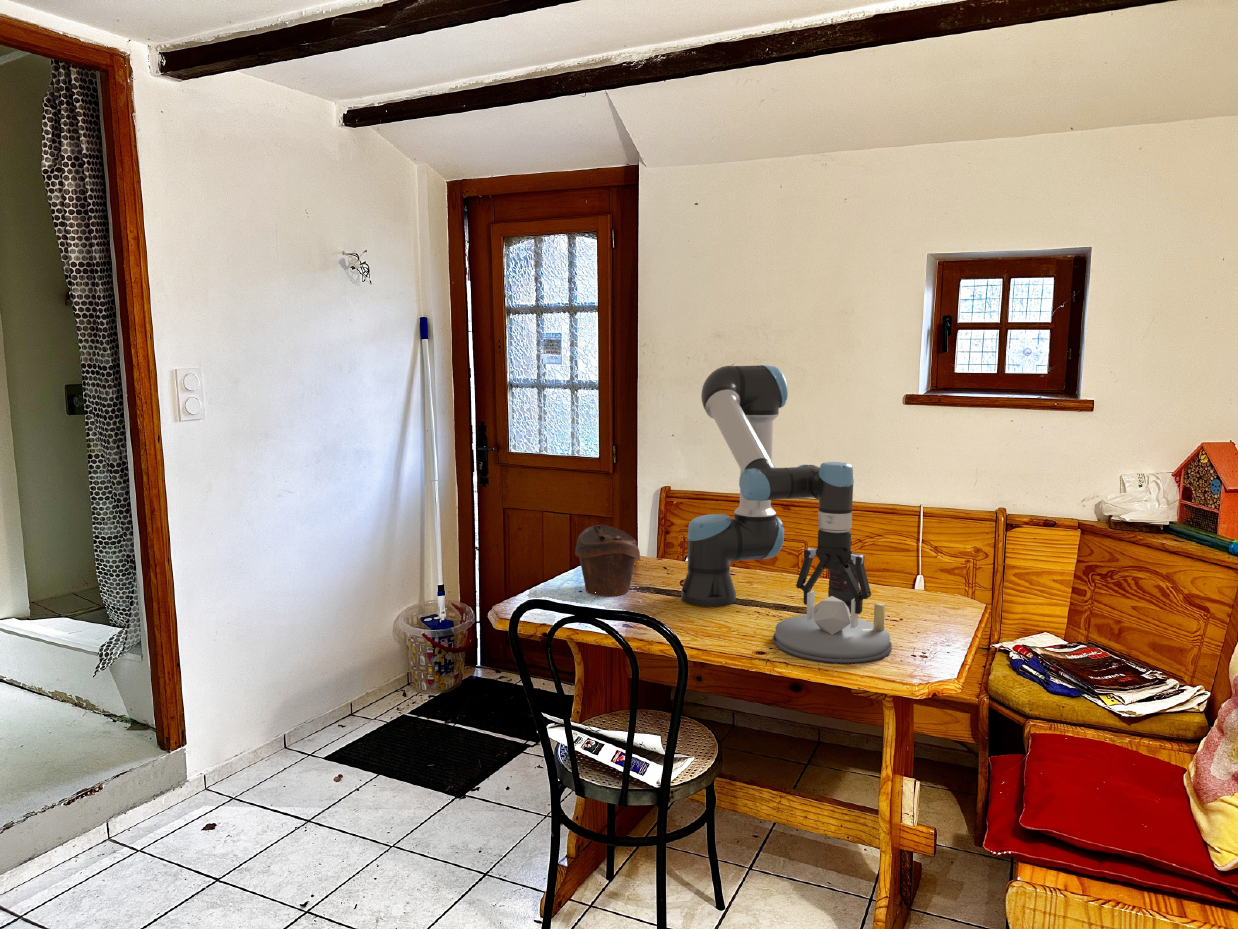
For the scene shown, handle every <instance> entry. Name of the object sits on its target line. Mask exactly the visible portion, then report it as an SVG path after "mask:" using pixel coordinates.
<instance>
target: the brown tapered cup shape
mask: <svg viewBox="0 0 1238 929" xmlns="http://www.w3.org/2000/svg"><path fill="white" fill-rule="evenodd" d="M577 536H578V537H577V540H576V541H577V542H576V546H575V549H574V551H575V552H574V555H575V557H577V558H579V562H580V563H579V564H580V567H581V572H582V573H581V574H582V576H583V582H584V587H585V591H586V593H587V594H588V595H592V596H597V597H618V596H623V595H625V594H627V593H628V592H629V590H630V588H631V582H632V578H633V572H634V568H635V567H636V565H635V562H636V560H637V561H639V562H641V554H640V549H639V546H638V542H637V540H636V539H635V538H634V537H633V536H631V535H630V534H628V533H627V532H625V531H623V530H621V529H619V528H616V527H613V526H610V525H605V524H595V525H591V526H589V527H586V528H585V529H583V530H582V531H581V533H579V534H578V535H577ZM595 592H596V593H595Z"/></svg>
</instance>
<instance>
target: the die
mask: <svg viewBox="0 0 1238 929" xmlns="http://www.w3.org/2000/svg"><path fill="white" fill-rule="evenodd" d="M850 617H851V612H850V611H849V608H848V607H847V605H846V604H845V602H844V601H841V600H839V599H837V598H835V597H833V596H831V597H826V598H824V599H822V600H821V601H820V602H819V603H817V604H816V605H814V621H815V622H816V624H817V625H818V626H819V628H820V629H822V630H824V631H826V632H828V633H829V634H831V635H833V634H835V633H837V632H839V631H840V630H842V629H844V628H845V627H846V626H848V625H849V624H850V623H851V621H850Z"/></svg>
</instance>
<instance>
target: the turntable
mask: <svg viewBox="0 0 1238 929" xmlns="http://www.w3.org/2000/svg"><path fill="white" fill-rule="evenodd" d="M885 610H886V605H885V603H880V602H879V603H878V602H876V603H875V602H874V605H873V622H872V621H867V620H865V619H861V618H858V626H856V627H855V628H851V623H850V624H849V625H848V626H846V627H845V628H844V629H842V630H840V631H839V632H837V633H835V634H833V635H831V634H829V633H828V632H826V631H824V630H822V629H820V628H819V626H818V625H817V624H816V622H815V621H814V618H812V619H811V620H807V614H805V615H795V616H791V617H788V618H784V619H783V620H781V621H779V622H778V623H777V624H776V625H775V631H774V633H775V637H776V640H777V641H778V642H779V643H780V644H781V645H783V646H784V647H786V648H788V649H791V650H793V651H796V652H799V653H803V654H807V655H811V656H817V657H824V658H835V659H855V658H865V657H871V656H875V655H878V654H881V653H883V652H885V651H886V650H887V649H888V648H889V642H891V641H890V640H891V639H890V638H891V636H890V633H889V632H888V631H887V630H886V628H885V614H886V613H885V612H886V611H885ZM850 621H851V616H850Z"/></svg>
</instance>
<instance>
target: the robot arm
mask: <svg viewBox="0 0 1238 929" xmlns="http://www.w3.org/2000/svg"><path fill="white" fill-rule="evenodd" d="M700 393H701V396H700V397H701V403H702V406H703V409H704V411H705V413H706V415H707V416H708V417H709V418H711V419H713V420H714V422H715V423H716V425H717V427H718V429H719V431H720V434H722V436H723V439H724V440H725V443H726V444H727V446H728V448H729V450H730V452H731V454H732V455H733V458H734V460H735V461H736V463H737V465H738V467H739V469H740V472H739V474H740V476H739V479H738V480H739V482H738V486H739V506H738V507H736V508H735V510H734V512H733V518H731V516H730V515H728V514H725V513H724V514H723V513H717V514H714V513H711V514H705V515H701V516H697V517H695V518H693V519H691V521H690V522H689V523H688V530H687V537H686V538H687V573H686V576H685V578H684V582H683V585H682V587H681V588H682V589H681V591H680V592H681V593H680V594H681V595H680V596H681V598H680V599H681V600H682V602H684V603H686V604H689V605H692V606H696V607H712V608H713V607H715V608H716V607H724V606H728V605H732V604H734V603H735V602H736V601H737V600H736V599H737V592H736V588H735V585H734V582H733V579H732V576H731V562H737V561H738V562H739V561H751V560H753V561H754V560H757V561H761V560H765V559H772V558H774V557H776V556H777V555H778V553H779V552H781V550H782V548H783V545H784V539H785V528H784V524H783V522H782V520H781V519H780V518H779V517H777V512H776V510H774V508H773V507H772V506H771V505H772V501H773V500H793V499H794V500H797V499H809V498H810V499H814V500H815V499H816V500H818V518H817V519H818V525H817V526H818V528H819V529H818V530H817V547H816V549H815V548H812V547H809V548H808V547H807V548H806V549H804V552H803V553H804V554H803V556H804V559H803V561H802V566H801V569H800V572H799V574H798V577H797V581H796V585H795V587H796V588H797V589H800V590H802V591H803V605H805V606H806V615H807V620H811V619H812V618H814V607H815V600H816V599H815V594H816V593H815V592H816V591H815V590H813V587H814V586H815V585H816V583H817V581H818V579H819V578H820V577H821V575H822V574H823V572H824V570H825V569H827V570H829V569H834V570H840V572H841V574H843V576H844V578H845V580H846V582H847V584H848V586H849V588H850V590H851V592H852V594H853V596H854V599H853V600H851V612H850V617H851V628H855V627H856V626H858V619H859V615H860V614H862V612H863V604H864V603H863V601H864V600H868V599H869V598H870V597H871V596H872V591H871V588H870V583H869V580H868V576H867V571H866V568H865V555H864V554H859V555H854V554H852V553H853V552H852V532H851V530H852V528H853V496H854V482H855V479H854V467H853V466H852V465H851V463H848V462H841V461H825V462H822V463H821V464H820V465H819V466H817V465H815V464H801V465H800V464H799V465H798V466H795V467H794V466H793V467H792V466H791V467H775V465H774V463H773V428H774V427H773V426H774V424H773V423H774V420H776V418H777V417H778V416H779V413H780V412H779V411H780V410H779V409H781V408H783V407H785V405H786V404H787V401H788V394H789V390H788V384H787V380H786V377H785V375H784V373H783V372H782V371H781V369H779V368H778V367H776V366H773V365H763V364H761V365H724V366H721V367H718V368H716V369H715V370H714V371H712V372H711V373H710V374H709V375H708V377H707V378H706V379H705V380H704V382H703V385H702V388H701V392H700ZM816 557H817V558H818V560H819V562H818V564H817V566H816V568H815V569H814V571H813V573H812V574H811V575H810V577H809V579H808V580H807V578H808V576H809V573H810V570H811V567H812V563H813V560H814V558H816ZM851 559H852V560H853V563H854V564H855V568H856V573H857V577H858V581H859V586H858V584H857V582H856V580H855V578H854V576H853V574H852V572H851V568H850V566H849V564H848V562H849V561H850V560H851Z"/></svg>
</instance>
